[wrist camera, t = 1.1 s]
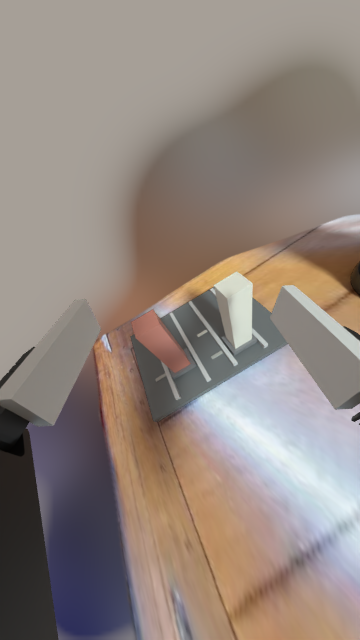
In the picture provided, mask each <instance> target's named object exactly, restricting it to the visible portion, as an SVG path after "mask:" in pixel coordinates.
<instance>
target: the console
mask: <svg viewBox="0 0 360 640" xmlns="http://www.w3.org/2000/svg"><path fill="white" fill-rule="evenodd" d="M271 314H272V313H271V312H269V311H268V310H267V309H266V308H265V307H263V306H262V305H261V304H260V303H259V302H257V301H256V300H255V299H254V298H252V334H253V335H254V336H255V337H256V338H257V342H256V343H255V344H253V345H251V346H250V347H248V348H246V349H245V350H243V351H241V352H240V353H238V354H236V355H235V356H234V355H233V354H232V353H231V351H230V350H229V349H228V347H227V346H226V345H225V343H224V342H223V341H222V338H221V337H223V336H224V335H225V331H224V327H223V323H222V318H221V314H220V310H219V306H218V302H217V297H216V293H215V289H214V287H213V288H211V289H210V290H208V291H206V292H205V293H203V294H201V295H200V296H198V297H196V298H195V299H193V300H191V301H190V302H188V303H186V304H185V305H183V306H181V307H179V308H178V309H176V310H174V311H173V312H171V313H169V314H168V315H166V316H164V317H163V318H161V319H160V320H161V321H162V322H163V324H164V325H165V326H166V328H167V329H168V330H169V332H170V333H171V334H172V336H173V337H174V338H175V340H176V341H177V342H178V344H179V345H180V346H181V348H182V349H183V350H184V349H185V348H187V349H188V351H189V353H190V355H191V356H192V358H193V360H194V362H195V364H196V365H197V366H196V367H195V368H193V369H191V370H190V371H188V372H186V373H185V374H183V375H181V376H180V377H178V378H176V379H174V378H172V375H171V373H170V370H169V368H168V367H167V366H166V365H165V364H164V363H163V362H162V361H161V360H160V359H158V358H157V357H156V356H155V355H154V354H153V353H152V352H151V351H149V350H148V349H147V348H146V347H145V346H144V345H143V344H142V343H140V342H139V341H138V340H137V339H136V338H135V334H134V335H132V336H131V340H132V344H133V347H134V351H135V355H136V359H137V362H138V366H139V370H140V373H141V377H142V381H143V384H144V388H145V392H146V396H147V399H148V403H149V407H150V410H151V414H152V418H153V421H155V422H158V421H160V420H161V419H163V418H165V417H166V416H168V415H170V414H171V413H173V412H175V411H176V410H178V409H180V408H181V407H183V406H185V405H186V404H188V403H190V402H191V401H193V400H195V399H196V398H198V397H200V396H201V395H203V394H205V393H206V392H208V391H210V390H211V389H213V388H215V387H216V386H218V385H220V384H221V383H223V382H225V381H227V380H228V379H230V378H232V377H233V376H235V375H237V374H238V373H240V372H242V371H243V370H245V369H247V368H248V367H250V366H252V365H253V364H255V363H257V362H258V361H260V360H262V359H263V358H265V357H267V356H268V355H270V354H272V353H273V352H275V351H277V350H278V349H280V348H282V347H283V346H285V345H287V344H288V343H287V341H286V340H285V339H284V337H283V336H282V334H281V333H280V332H279V330H278V329H277V327H276V326H275V325H274V323H273V322H272V320H271V319H270V316H271Z"/></svg>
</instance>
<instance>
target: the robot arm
mask: <svg viewBox="0 0 360 640" xmlns="http://www.w3.org/2000/svg"><path fill="white" fill-rule="evenodd" d="M351 284H352V286H353V288H354V289H355V291H356V292H357V293H358V294H359V295H360V262H359V263H358V264H357V266H356V267H355V269H354V271H353V272H352V275H351ZM270 319H271V320H272V322H273V323H274V325H275V326H276V327H277V329H278V330H279V332H280V333H281V334H282V336H283V337H284V339H285V340H286V341H287V343H288V344H289V346H290V347H291V348H292V350H293V351H294V353H295V354H296V355H297V357H298V358H299V360H300V361H301V362H302V364H303V365H304V367H305V368H306V369H307V371H308V372H309V374H310V375H311V376H312V378H313V379H314V381H315V382H316V383H317V385H318V386H319V388H320V389H321V390H322V392H323V393H324V395H325V396H326V397H327V399H328V400H329V402H330V403H331V404H332V406H333V407H334V409H352V408H353V407H355V406H356V405H358V404H359V403H360V335H359V334H358V333H356V332H354V331H352V330H351V329H349V328H347V327H345V326H344V327H342V326H341V325H340V324H339V323H338V322H337V321H335V320H334V319H333V318H332V317H331V316H329V315H328V314H327V313H326V312H325V311H324V310H322V309H321V308H320V307H319V306H318V305H317V304H315V303H314V302H313V301H312V300H311V299H309V298H308V297H307V296H306V295H305V294H304V293H302V292H301V291H300V290H299V289H298V288H296V287H295V286H294V285H289V286H282V288H281V290H280V293H279V295H278V298H277V301H276V303H275V306H274V308H273V311H272V314H271V316H270ZM100 330H101V328H100V326H99V324H98V322H97V320H96V318H95V316H94V314H93V312H92V310H91V308H90V306H89V304H88V302H87V300H86V299H82V300H74V302H73V303H72V304H71V305H70V306H69V308H68V309H67V310H66V311H65V313H64V314H63V315H62V316H61V317H60V318H59V319H58V321H57V322H56V323H55V324H54V326H53V327H52V328H51V329H50V330H49V331H48V333H47V334H46V335H45V336H44V337H43V338H42V340H41V341H40V342H39V343H38V344H37V346H36V347H33V348H31V349H30V350H29V351H28V352H26V353H25V354H23V355H22V357H21V358H20V359H19V360H18V361H17V362H16V365H14V366H13V367H12V368H11V369H10V371H9V373H7V374H6V375H5V376H4V377H3V378H2V380H1V381H0V640H58V634H57V627H56V619H55V612H54V605H53V599H52V591H51V584H50V577H49V570H48V563H47V556H46V548H45V541H44V534H43V527H42V521H41V513H40V506H39V499H38V493H37V484H36V477H35V470H34V463H33V457H32V449H31V442H30V435H29V431H28V429H26V427H27V425H28V423H29V422H31V423H32V424H34V425H36V426H52V425H54V424H55V422H56V420H57V417H58V416H59V414H60V411H61V409H62V407H63V405H64V403H65V401H66V399H67V397H68V395H69V393H70V391H71V389H72V387H73V385H74V383H75V381H76V379H77V377H78V375H79V373H80V371H81V369H82V367H83V365H84V363H85V361H86V359H87V357H88V355H89V353H90V351H91V349H92V347H93V345H94V343H95V341H96V339H97V337H98V334H99V332H100ZM359 419H360V412H359V413H358V414H356V415H355V416H353V417H352V421H354V422H355V421H357V420H359ZM359 425H360V423H359Z"/></svg>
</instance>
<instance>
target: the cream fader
mask: <svg viewBox="0 0 360 640" xmlns="http://www.w3.org/2000/svg"><path fill="white" fill-rule="evenodd" d="M214 289H215V293H216V297H217V302H218V306H219V310H220V314H221V318H222V323H223V327H224V331H225V335H224V336H223V337H221V338H222V341H223V342H224V343H225V345H226V346H227V347H228V349H229V350H230V351H231V353H232V354H233V355H234V356H235V355H236V354H238V353H240V352H241V351H243V350H245V349H246V348H248V347H250V346H251V345H253V344H255V343H256V342H257V338H256V337H255V336H254V335H253V334H252V283H251V282H250V281H249V280H247V279H246V278H245V277H243V276H242V275H241V274H239V273H238V272H235V273H233V274H232V275H230V276H228V277H227V278H225V279H223V280H222V281H220V282H218V283H217V284H215V285H214Z"/></svg>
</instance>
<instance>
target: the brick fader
mask: <svg viewBox="0 0 360 640" xmlns="http://www.w3.org/2000/svg"><path fill="white" fill-rule="evenodd" d="M131 324H132V328H133V331H134V334H135V338H136V339H137V340H138V341H139V342H140V343H142V344H143V345H144V346H145V347H146V348H147V349H148V350H149V351H151V352H152V353H153V354H154V355H155V356H156V357H157V358H158V359H160V360H161V361H162V362H163V363H164V364H165V365H166V366H167V367H168V368H169V370H170V373H171V375H172V378H174V379H176V378H178V377H180V376H181V375H183V374H185V373H186V372H188V371H190V370H191V369H193V368H195V367H196V366H197V365H196V364H195V362H194V360H193V358H192V356H191V355H190V353H189V351H188V349H187V348H185V349H184V350H183V349H182V348H181V346H180V345H179V344H178V342H177V341H176V340H175V338H174V337H173V336H172V334H171V333H170V332H169V330H168V329H167V328H166V326H165V325H164V324H163V322H162V321H161V320H160V318H159V317H158V316H157V314H156V313H155V312H154V310H151V311H149V312H148V313H146V314H144V315H142V316H141V317H139V318H137V319H136V320H134V321H132V322H131Z"/></svg>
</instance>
